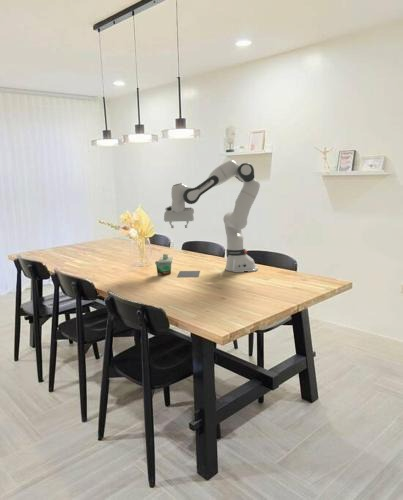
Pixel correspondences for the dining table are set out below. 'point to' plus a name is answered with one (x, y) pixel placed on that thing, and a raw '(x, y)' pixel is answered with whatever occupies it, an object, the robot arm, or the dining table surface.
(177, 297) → the dining table surface
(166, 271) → the food container
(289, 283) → the dining table surface
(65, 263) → the dining table surface
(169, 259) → the lid
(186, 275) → the mat
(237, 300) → the dining table surface
